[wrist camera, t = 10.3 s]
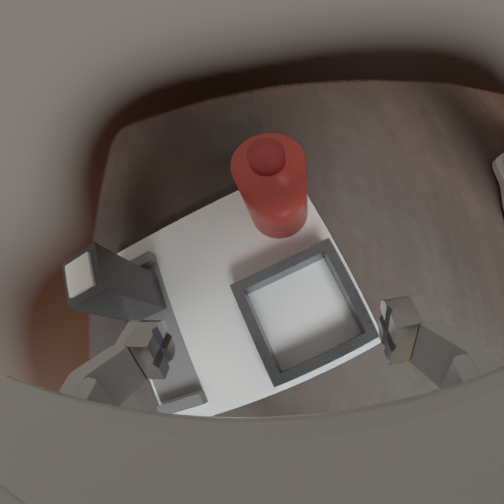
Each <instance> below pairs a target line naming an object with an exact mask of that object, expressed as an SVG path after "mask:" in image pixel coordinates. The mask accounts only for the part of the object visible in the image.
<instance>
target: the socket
mask: <svg viewBox="0 0 504 504" xmlns="http://www.w3.org/2000/svg"><path fill="white" fill-rule="evenodd" d="M323 258H324V260H325V262H326V264H327V266H328V268H329V269H330V271H331V273H332V275H333V277H334V279H335V281H336V283H337V285H338V287H339V289H340V291H341V293H342V295H343V297H344V299H345V301H346V303H347V305H348V307H349V309H350V311H351V313H352V315H353V317H354V319H355V321H356V324H357V326H358V328H359V330H360V332H361V333H360V334H359V335H357V336H355V337H353V338H351V339H349V340H347V341H345V342H343V343H341V344H339V345H337V346H335V347H333V348H331V349H329V350H327V351H325V352H323V353H321V354H319V355H317V356H315V357H313V358H311V359H308V360H306V361H304V362H302V363H300V364H297V365H295V366H293V367H291V368H288V369H286V370H284V371H282V370H281V368H280V366H279V363H278V361H277V359H276V357H275V355H274V352H273V350H272V348H271V346H270V343H269V341H268V339H267V337H266V334H265V332H264V330H263V328H262V325H261V323H260V321H259V319H258V316H257V314H256V312H255V309H254V307H253V305H252V303H251V300H250V298H249V296H248V294H250V293H252V292H254V291H256V290H258V289H260V288H262V287H265V286H267V285H269V284H271V283H273V282H275V281H277V280H279V279H282V278H284V277H286V276H288V275H290V274H292V273H294V272H296V271H298V270H300V269H302V268H304V267H306V266H309V265H311V264H313V263H315V262H317V261H319V260H321V259H323ZM230 287H231V290H232V292H233V295H234V297H235V299H236V302H237V304H238V307H239V309H240V311H241V314H242V316H243V318H244V321H245V323H246V325H247V328H248V330H249V332H250V335H251V337H252V339H253V341H254V344H255V346H256V348H257V351H258V353H259V355H260V357H261V360H262V362H263V364H264V366H265V369H266V371H267V373H268V375H269V378H270V380H271V382H272V384H273V386H274V387H277V386H279V385H281V384H284V383H286V382H289V381H291V380H293V379H296V378H298V377H300V376H302V375H305V374H307V373H309V372H311V371H313V370H316V369H318V368H320V367H322V366H324V365H326V364H328V363H330V362H332V361H334V360H336V359H338V358H340V357H342V356H344V355H346V354H348V353H350V352H352V351H354V350H356V349H358V348H360V347H362V346H363V345H365V344H367V343H369V342H371V341H372V340H374V339H376V338H378V337H379V334H378V332H377V330H376V328H375V326H374V324H373V322H372V320H371V318H370V315H369V313H368V311H367V309H366V307H365V305H364V303H363V301H362V299H361V297H360V295H359V293H358V291H357V289H356V287H355V285H354V283H353V281H352V280H351V278H350V276H349V274H348V272H347V270H346V268H345V266H344V264H343V262H342V261H341V259H340V257H339V255H338V253H337V251H336V249H335V248H334V246H333V244H332V242H331V240H330V239H329V238H327V239H325V240H323V241H321V242H319V243H317V244H315V245H313V246H311V247H309V248H307V249H305V250H303V251H301V252H299V253H297V254H294V255H292V256H290V257H288V258H286V259H284V260H282V261H280V262H278V263H276V264H274V265H271V266H269V267H267V268H265V269H263V270H261V271H259V272H257V273H255V274H252V275H250V276H248V277H246V278H244V279H242V280H240V281H237V282H235V283H233V284H231V285H230Z"/></svg>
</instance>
